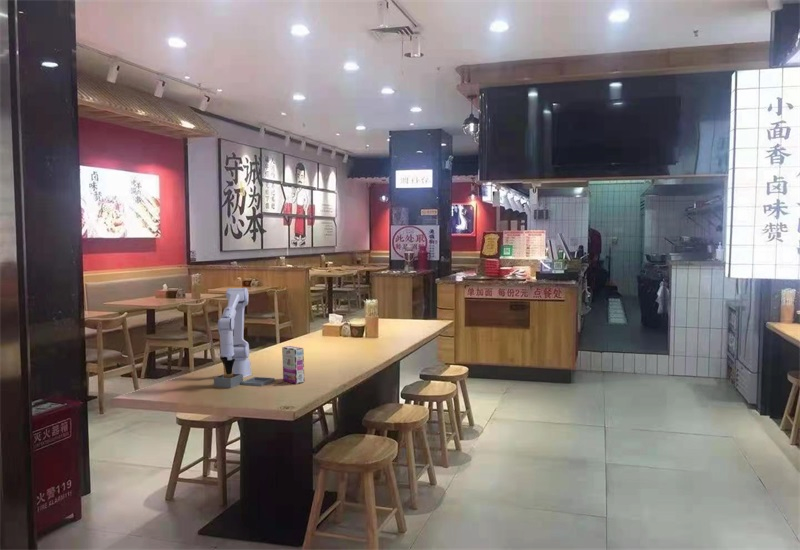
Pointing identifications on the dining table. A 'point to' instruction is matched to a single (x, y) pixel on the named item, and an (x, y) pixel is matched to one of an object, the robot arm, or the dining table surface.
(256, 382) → the tray
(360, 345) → the dining table surface
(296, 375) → the candy bar box
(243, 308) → the robot arm
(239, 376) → the grey square box
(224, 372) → the dowel
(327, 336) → the dining table surface
